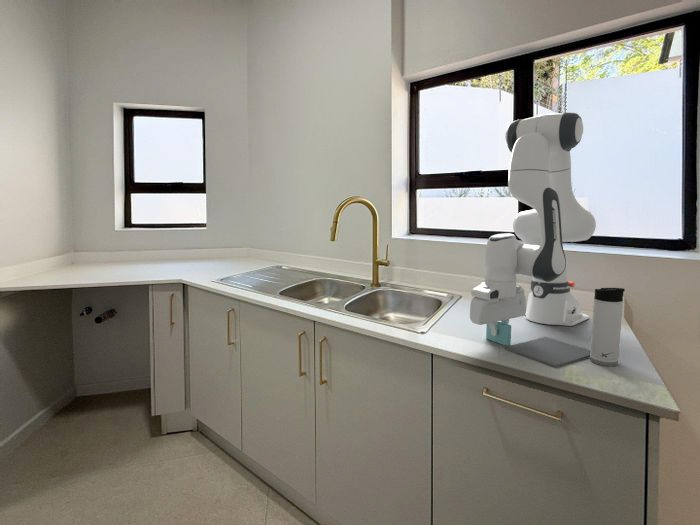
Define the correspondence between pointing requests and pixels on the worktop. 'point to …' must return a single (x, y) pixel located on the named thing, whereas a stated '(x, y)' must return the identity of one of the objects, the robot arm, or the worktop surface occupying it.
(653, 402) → the worktop surface
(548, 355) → the mat
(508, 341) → the block
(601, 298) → the travel mug
